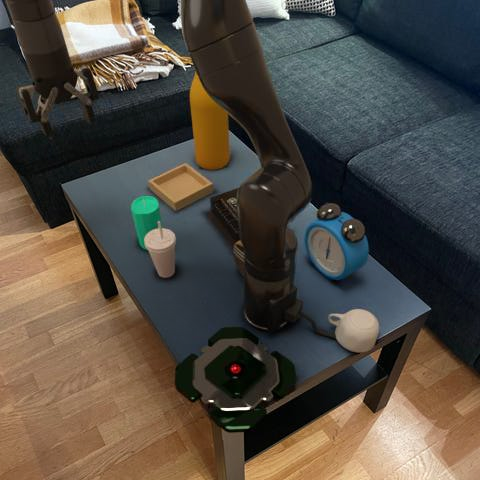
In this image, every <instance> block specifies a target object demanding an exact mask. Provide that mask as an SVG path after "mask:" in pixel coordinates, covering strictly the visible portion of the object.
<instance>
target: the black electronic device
mask: <svg viewBox="0 0 480 480" xmlns="http://www.w3.org/2000/svg"><path fill="white" fill-rule="evenodd" d="M238 190H239V187H236V188H233V189H231V190H228V191H225V192H222V193H219V194H216V195H213V196H211V197H209V201H210V202H209V204H210V210H209V211H206V212H205V213H204V215H205V216H206V217H207V218H208V220H209V221H210V222H211V224H212V225H213V226H214V228H215V229H216V230H217V231H218V233H219V234H220V236H222V238H223V239H224V241H225V242H226V243H227V245H228V246H229V248H231V250H232V251H233V248H234V245H235V243H236V242H238V241H240V237H239V229H238V218H237V206H236V200H237V193H238Z"/></svg>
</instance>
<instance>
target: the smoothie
mask: <svg viewBox="0 0 480 480" xmlns="http://www.w3.org/2000/svg"><path fill="white" fill-rule="evenodd" d="M158 227H159V228H158V229H154V230H152V231H150V232H149V233H147V234H146V236H145V238H144V243H145V247H146V248H147V249H148V250H147V251H148V252H149V255H150V258H151V260H152V263H153V265H154V267H155V270H156V272H157V274H158V276H159V277H161V278H163V279H167V278H170V277H172V276H174V274H175V273H176V257H175V256H176V253H175V252H176V251H175V250H176V249H175V248H176V243H177V238H176V235H175V233H174V232H173V231H172V230H171V229H168V228H164V227H163V228H162V227H161V222H160V221H158Z"/></svg>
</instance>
